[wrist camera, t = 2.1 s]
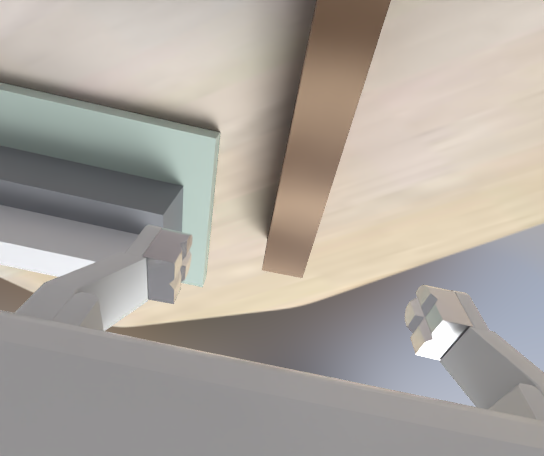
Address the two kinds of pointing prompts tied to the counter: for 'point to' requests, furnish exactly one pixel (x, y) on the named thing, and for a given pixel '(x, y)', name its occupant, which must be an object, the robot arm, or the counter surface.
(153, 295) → the robot arm
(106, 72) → the counter surface
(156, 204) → the ridge stand
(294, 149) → the walnut batten
